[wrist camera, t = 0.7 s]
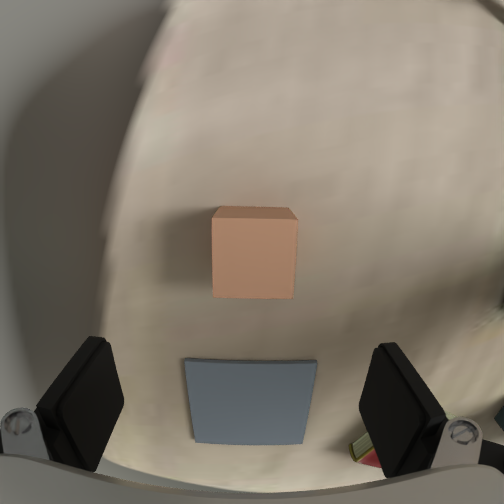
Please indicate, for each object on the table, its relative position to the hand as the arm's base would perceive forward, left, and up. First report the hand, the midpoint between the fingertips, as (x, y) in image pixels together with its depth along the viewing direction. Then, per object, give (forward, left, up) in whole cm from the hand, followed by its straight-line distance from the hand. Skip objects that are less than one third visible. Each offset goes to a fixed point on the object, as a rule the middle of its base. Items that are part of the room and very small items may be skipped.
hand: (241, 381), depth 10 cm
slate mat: (-1, +20, -19) cm, 27 cm away
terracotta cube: (-1, 0, -19) cm, 19 cm away
